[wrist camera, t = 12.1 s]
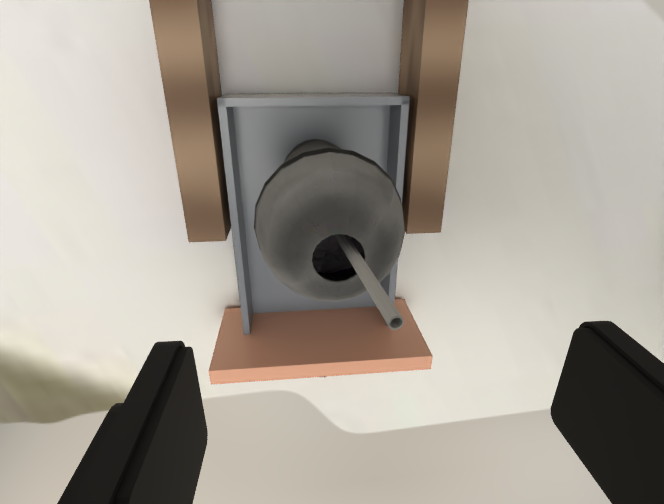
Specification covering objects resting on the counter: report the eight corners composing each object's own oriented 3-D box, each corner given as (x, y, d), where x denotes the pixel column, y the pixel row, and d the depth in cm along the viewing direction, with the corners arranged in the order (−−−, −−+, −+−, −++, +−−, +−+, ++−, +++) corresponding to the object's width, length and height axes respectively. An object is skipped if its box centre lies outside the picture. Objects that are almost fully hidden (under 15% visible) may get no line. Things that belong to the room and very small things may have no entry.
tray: (402, 314, 37) (430, 374, 30) (227, 324, 36) (211, 389, 29) (421, 92, 29) (465, 100, 22) (196, 94, 28) (164, 103, 21)
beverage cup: (261, 119, 28) (212, 213, 10) (364, 117, 29) (495, 201, 11) (269, 218, 31) (243, 427, 13) (362, 213, 32) (461, 408, 14)
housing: (420, 210, 34) (440, 232, 29) (202, 217, 32) (188, 242, 28) (448, -94, 25) (483, -130, 21) (156, -105, 24) (125, -145, 19)
